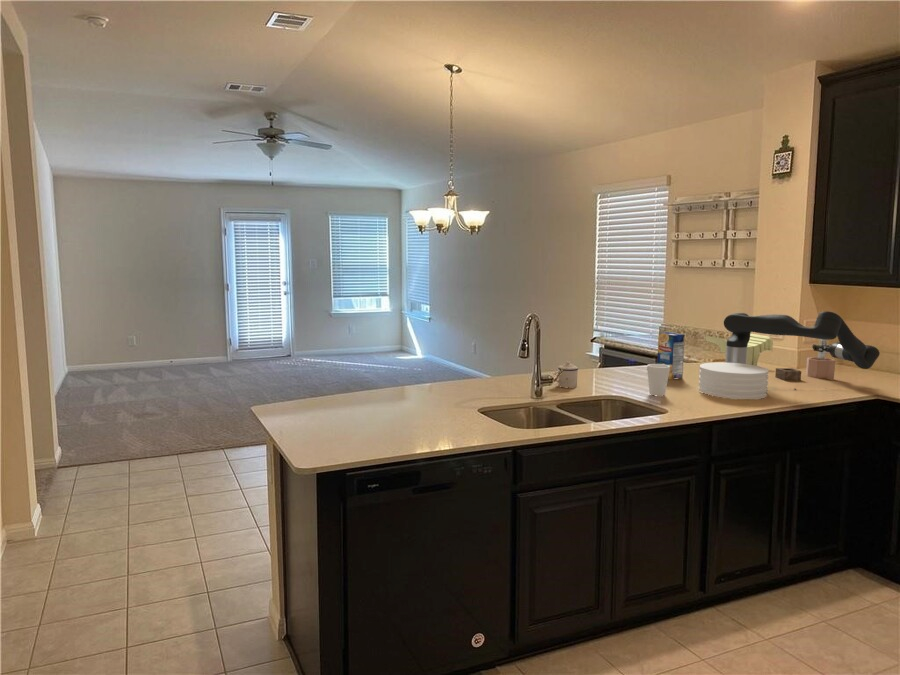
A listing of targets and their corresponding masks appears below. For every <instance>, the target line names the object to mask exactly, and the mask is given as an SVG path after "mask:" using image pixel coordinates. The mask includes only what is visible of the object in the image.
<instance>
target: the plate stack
mask: <svg viewBox="0 0 900 675" xmlns="http://www.w3.org/2000/svg"><path fill="white" fill-rule="evenodd" d="M769 372H770V369H768V368H766V367H763V366H760V365H757V366H755V365H749V364H740V363H725V362H723V361H721V362H705V363H701V364H699V370H698V374H699V376H698V388H697V389H699V391H701V392H703V393H706V394H709V395H713V396H718V397H717V398H719V397H723V398H722V399H726V398H731V399H730V400H737V399H755V400H761V398H762V399H765V398H767V397H766V396H768V386H769V382H768V380H769ZM699 391H698V392H699ZM703 393H702V394H703ZM709 395H708V396H709ZM713 396H712V397H713Z"/></svg>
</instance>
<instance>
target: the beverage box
mask: <svg viewBox="0 0 900 675" xmlns="http://www.w3.org/2000/svg"><path fill="white" fill-rule="evenodd" d="M685 337H686V335H685V334H683V333H677V332H669V331H667V332H665V331H663V332H658V338H657V340H658V341H657V343H658V344H657V360H656V364H664V365H669V366H670V372H669V376H668V378H670V379H669V380H671V379H673V380H675V379H674V378H683V374H684V359H685V358H684V357H685V356H684V355H685Z"/></svg>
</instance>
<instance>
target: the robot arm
mask: <svg viewBox="0 0 900 675" xmlns="http://www.w3.org/2000/svg"><path fill="white" fill-rule="evenodd" d="M723 326H724V328H725V329H726V330H727V331H728V332H730V333H731V336H730V337H729V338H728V339H726V340H727V346H726V353H725V361H724V363H740V364H746V361H747V345H748V342H749V340H750V334H752V333H755V334H757V333H758V334H763V335H764V334H765V335H770V336H771V335H772V336H789V337H790V336H791V337H801V338H802V337H803V338H812V339H818V340H819V339H825V340H827V341H828V340H829V341H830V340H831V341H832V340H834V339H836V338H837V339H838V342H834V343H832V344H831V343H830V344H827V345H822V346H821V345H819V344H815V343H814V344H812V349H813V351H814V352H817V353H818V352H826V354H827V353H828V354H830V356H831V357H832V358H833V359H839V360H843V361H848V362H853V363H854V364H855V365H856V366H857V367H858V368H859V369H861V370H862V369H863V370H867V369H870V368H872V366H873V365H874V363H875V362H876V361H877V360H878V358H879V356H880V355H881V352H880V350H879V349H878V347H876V346H873V345H870V344H869V345H868V344H867V345H866V344H865V343H864V342H863V341H862V340H860V339H859V338H858V337H857V336H856V335H855V334H854V333H853V332H852V330H851V328H849V325H847V323H846V322H845V320H844V319H843V318H842V317H841V315H839V314H838V313H836V312H834V311H830V310H829V311H828V310H826V311H825V310H824V311H821V312H820V313H818V315H817V316H816V320H815V323H814V326H813V327H809V326H805V325H802V324H801V323H800V322H799V321H797V320H796V319H795V318H793V317H792V316H790V315H787V314H762V315H751V316H750V315H749V314H747V313H746V312H745V313H744V312H734V313H730V314H728V315H727V316H726V317H725V318H724V319H723ZM751 332H752V333H751ZM824 346H826V347H825V348H824ZM824 350H825V351H824Z"/></svg>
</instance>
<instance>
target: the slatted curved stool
mask: <svg viewBox="0 0 900 675" xmlns="http://www.w3.org/2000/svg"><path fill="white" fill-rule="evenodd" d="M727 340H728V339H725V338H723V337H722V338H721V337H717V336H710V335H705V341H706V342H709V343H712V344H713V345H717V346H718V347H719V350H720V353H722V354H726V346H727ZM773 347H774V341H773V339H772V337H770V336H768V335H764V334H763V335H762V334H757V333H750V340H749V342H748V345H747V361H746V364H749V365H755V366H758V361H759V358H760V356H761V355H760V354H762V353H763V352H765V351H771V352H773V349H774V348H773Z"/></svg>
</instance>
